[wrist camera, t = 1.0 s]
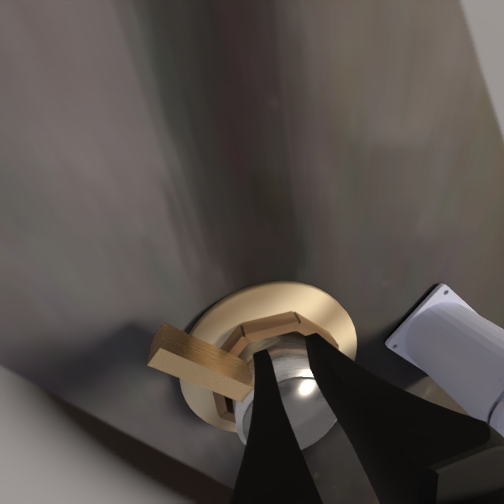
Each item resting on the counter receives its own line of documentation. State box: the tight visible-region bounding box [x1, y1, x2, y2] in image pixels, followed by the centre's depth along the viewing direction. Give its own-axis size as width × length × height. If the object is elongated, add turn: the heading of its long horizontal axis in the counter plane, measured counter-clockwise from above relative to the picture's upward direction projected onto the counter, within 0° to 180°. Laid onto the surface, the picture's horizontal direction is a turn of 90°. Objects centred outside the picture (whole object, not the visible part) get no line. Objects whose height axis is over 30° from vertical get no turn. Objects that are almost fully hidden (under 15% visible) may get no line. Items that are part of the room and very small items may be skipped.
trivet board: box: [180, 280, 357, 433], centre depth 24 cm, size 16×16×2 cm
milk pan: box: [147, 323, 337, 450], centre depth 20 cm, size 15×8×5 cm, turn 52°
